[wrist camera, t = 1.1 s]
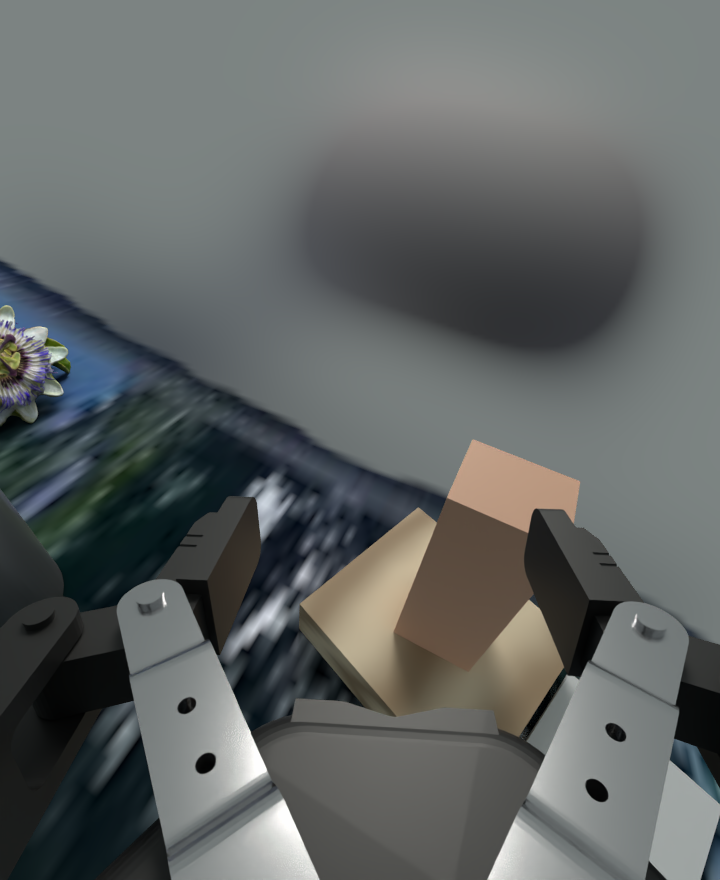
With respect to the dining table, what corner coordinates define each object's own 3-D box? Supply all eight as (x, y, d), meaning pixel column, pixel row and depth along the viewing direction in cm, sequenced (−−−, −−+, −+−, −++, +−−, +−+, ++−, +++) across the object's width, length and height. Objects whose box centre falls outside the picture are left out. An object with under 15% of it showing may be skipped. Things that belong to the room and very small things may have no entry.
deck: (299, 628, 32) (299, 603, 29) (409, 535, 38) (418, 507, 35) (454, 814, 25) (474, 806, 22) (554, 663, 32) (579, 642, 29)
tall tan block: (393, 632, 28) (446, 497, 18) (415, 580, 31) (472, 439, 21) (468, 671, 27) (569, 550, 17) (484, 614, 30) (580, 481, 20)
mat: (422, 903, 23) (424, 904, 22) (566, 674, 31) (570, 672, 31) (608, 1158, 18) (614, 1164, 18) (716, 807, 27) (722, 806, 26)
